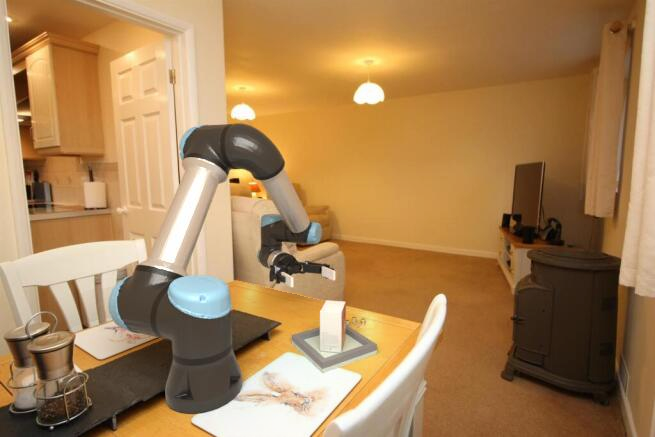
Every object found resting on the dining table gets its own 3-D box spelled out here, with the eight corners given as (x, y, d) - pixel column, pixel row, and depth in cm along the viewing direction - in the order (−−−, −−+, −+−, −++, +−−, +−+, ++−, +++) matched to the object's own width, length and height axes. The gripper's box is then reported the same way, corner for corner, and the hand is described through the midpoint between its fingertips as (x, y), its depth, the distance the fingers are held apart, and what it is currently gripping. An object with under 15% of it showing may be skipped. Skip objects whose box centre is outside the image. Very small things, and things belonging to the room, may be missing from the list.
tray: (322, 373, 78) (322, 362, 78) (291, 343, 91) (291, 334, 91) (376, 353, 86) (377, 344, 86) (341, 329, 100) (341, 321, 99)
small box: (341, 353, 84) (341, 313, 83) (319, 351, 85) (319, 311, 84) (346, 338, 92) (346, 301, 91) (325, 336, 93) (325, 299, 92)
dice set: (343, 327, 103) (343, 321, 102) (352, 321, 107) (352, 315, 107) (358, 331, 100) (358, 325, 100) (366, 325, 104) (366, 319, 104)
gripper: (315, 270, 121) (349, 285, 103) (246, 279, 108) (272, 299, 90) (315, 249, 120) (350, 261, 102) (246, 256, 107) (272, 271, 89)
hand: (314, 279), depth 96 cm, fingers open, 13 cm apart
